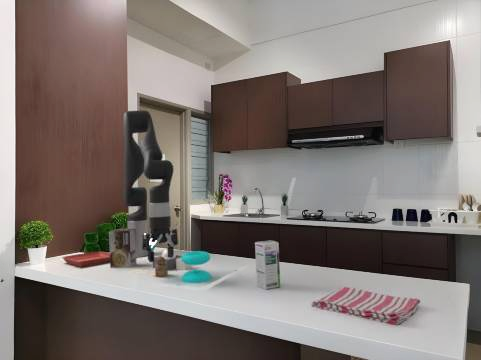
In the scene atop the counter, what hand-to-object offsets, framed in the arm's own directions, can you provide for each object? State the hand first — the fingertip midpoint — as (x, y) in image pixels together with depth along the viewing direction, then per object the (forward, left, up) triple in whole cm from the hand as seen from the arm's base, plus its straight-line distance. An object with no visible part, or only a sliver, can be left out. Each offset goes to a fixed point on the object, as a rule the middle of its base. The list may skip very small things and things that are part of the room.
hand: (161, 259), depth 134 cm
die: (-1, +12, -6) cm, 13 cm away
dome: (-9, +11, -5) cm, 15 cm away
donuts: (+14, +4, -7) cm, 16 cm away
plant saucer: (-52, +1, -8) cm, 52 cm away
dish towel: (+71, +11, -8) cm, 72 cm away
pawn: (0, 0, -6) cm, 6 cm away
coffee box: (-27, +2, -7) cm, 28 cm away
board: (-8, +6, -7) cm, 12 cm away
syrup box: (+38, +13, -7) cm, 41 cm away
